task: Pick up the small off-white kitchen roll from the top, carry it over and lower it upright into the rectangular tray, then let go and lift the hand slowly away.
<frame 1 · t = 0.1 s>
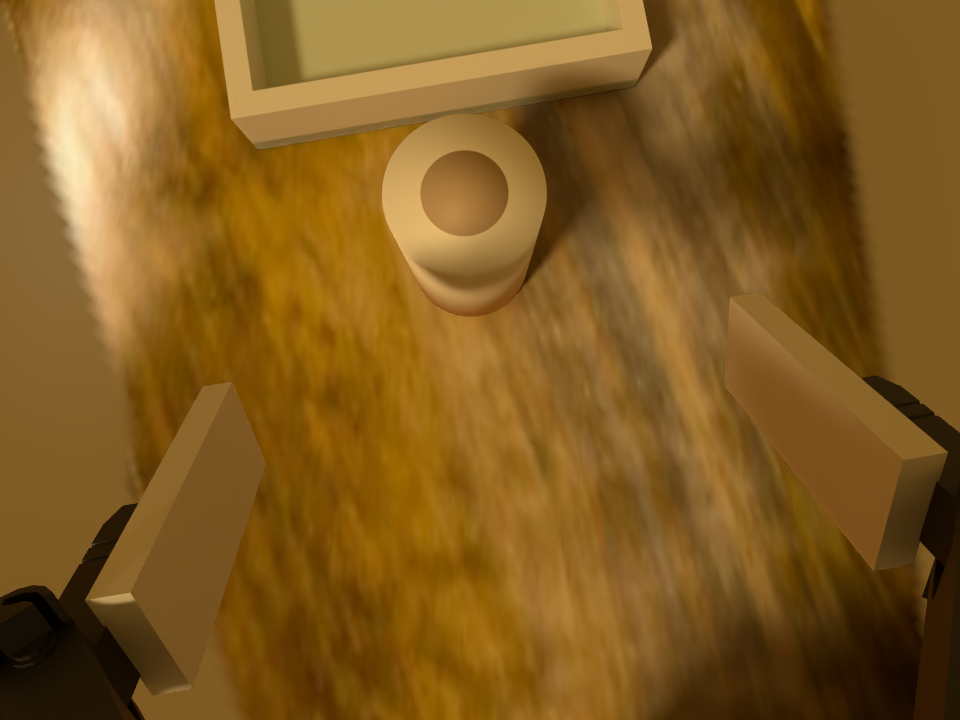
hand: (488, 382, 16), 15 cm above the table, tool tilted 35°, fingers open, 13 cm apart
kitchen roll: (470, 259, 32), on the table
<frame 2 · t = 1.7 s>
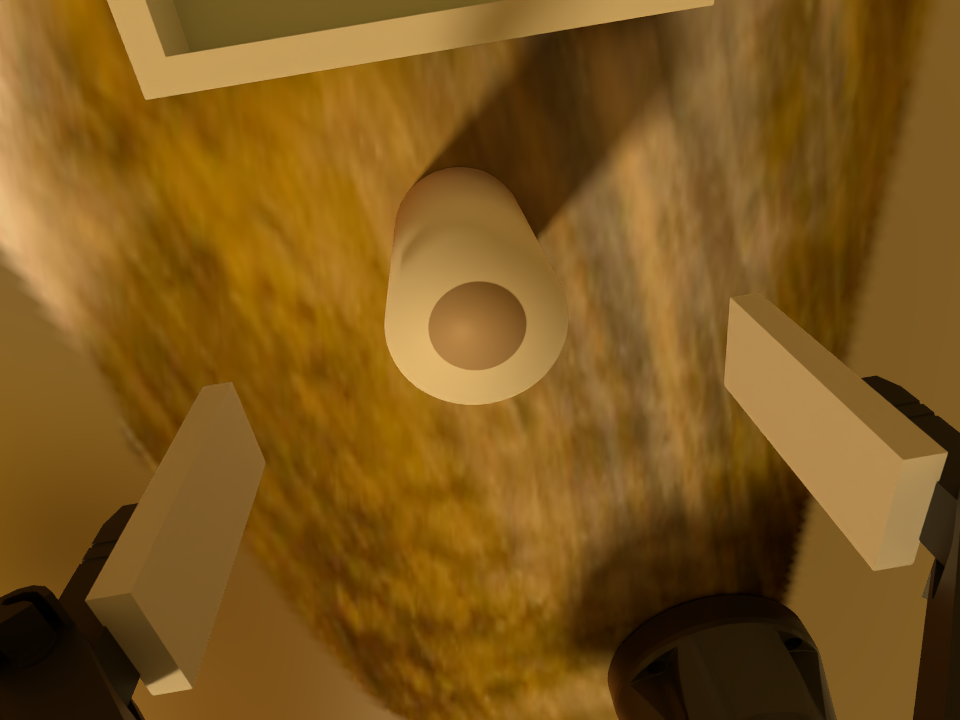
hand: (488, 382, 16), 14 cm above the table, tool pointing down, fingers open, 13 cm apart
kitchen roll: (459, 232, 29), on the table
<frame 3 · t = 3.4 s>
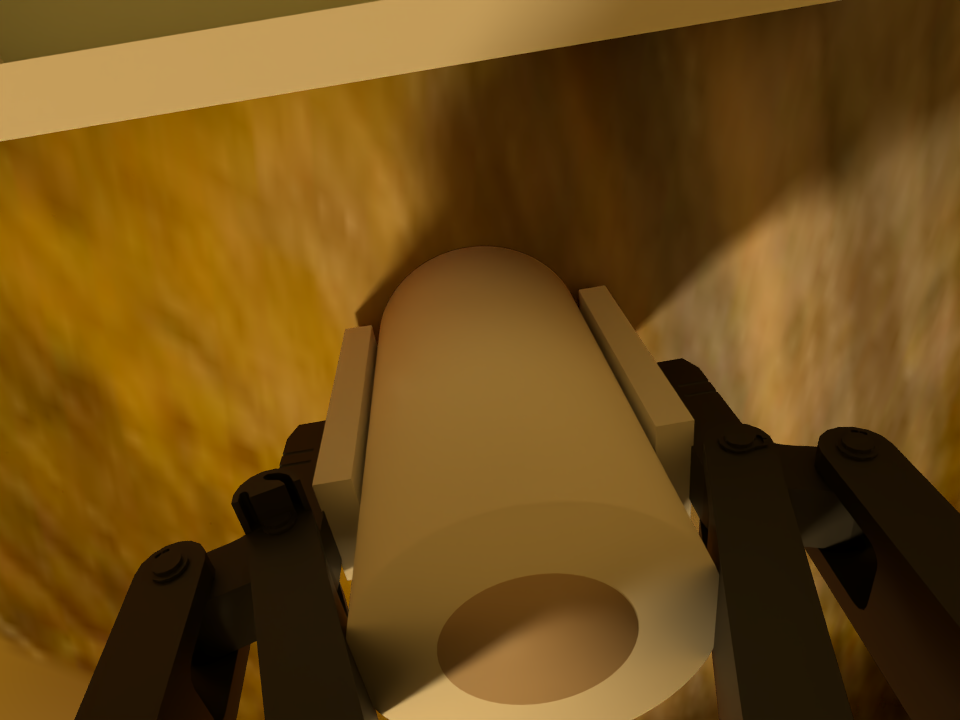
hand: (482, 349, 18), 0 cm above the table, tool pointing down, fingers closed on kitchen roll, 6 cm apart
kitchen roll: (480, 342, 18), on the table, touching gripper
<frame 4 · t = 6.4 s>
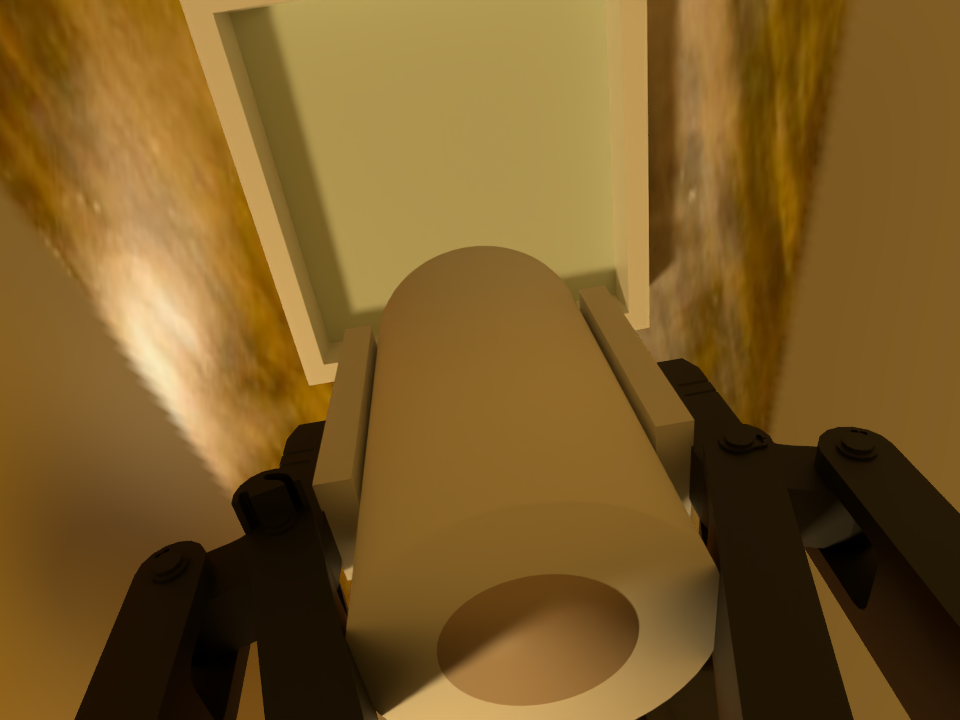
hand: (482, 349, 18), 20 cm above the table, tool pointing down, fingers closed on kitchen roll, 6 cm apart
rectangular tray: (447, 169, 35), on the table
kitchen roll: (480, 342, 18), point 19 cm above the table, touching gripper
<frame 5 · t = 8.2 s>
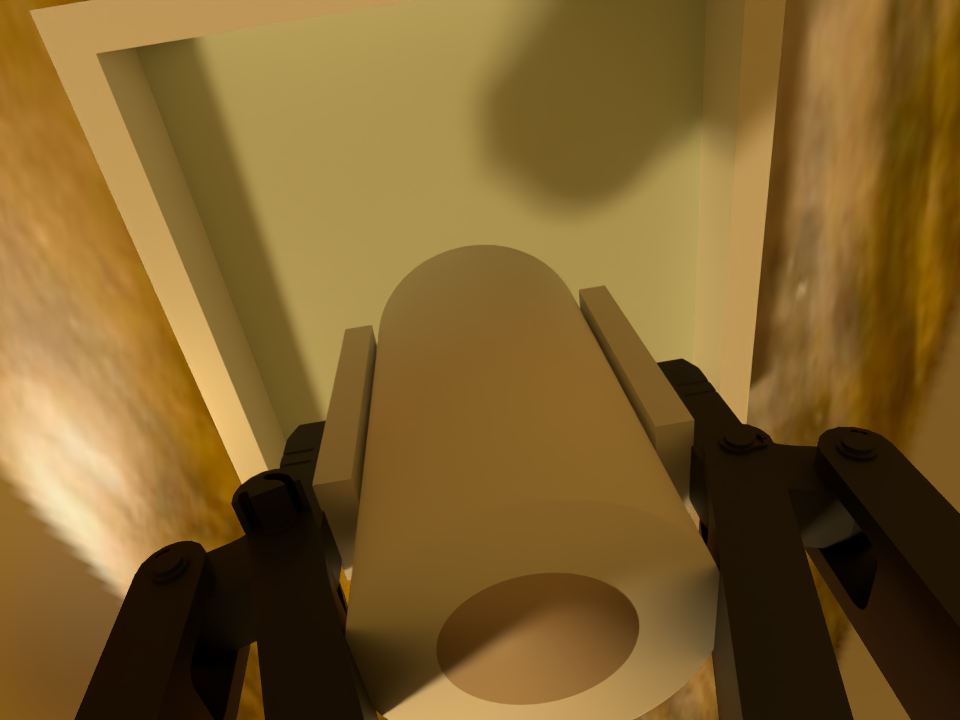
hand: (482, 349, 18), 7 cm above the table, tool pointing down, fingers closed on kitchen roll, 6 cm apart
rectangular tray: (465, 261, 24), on the table
kitchen roll: (480, 341, 18), point 7 cm above the table, touching gripper
when the fingers open (3 cm above the table, at t = 9.4 s): kitchen roll drops 2 cm, resting on rectangular tray.
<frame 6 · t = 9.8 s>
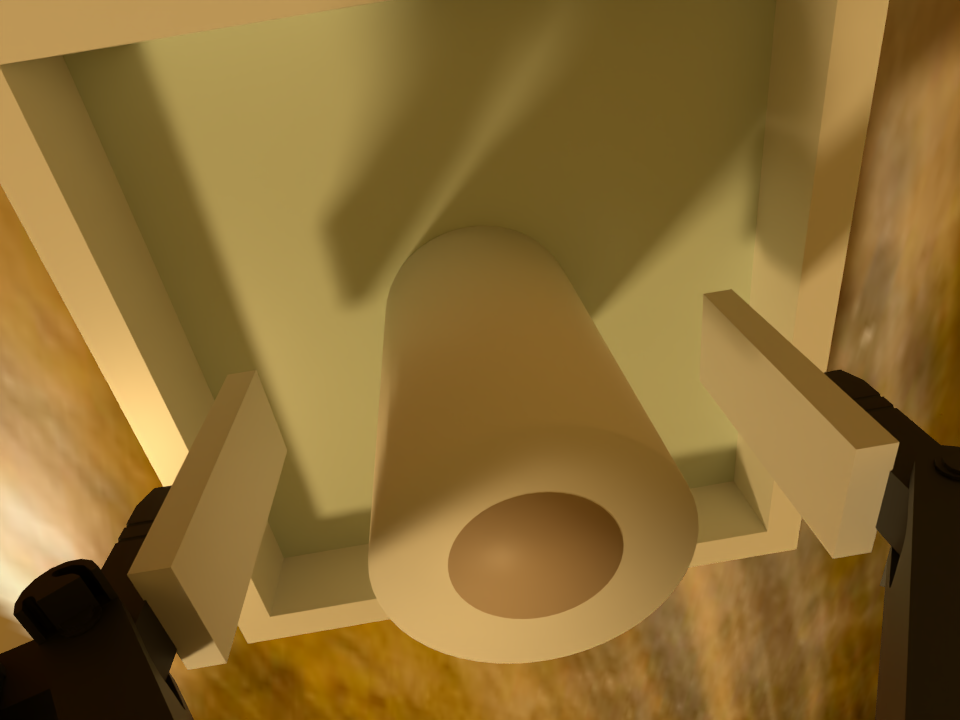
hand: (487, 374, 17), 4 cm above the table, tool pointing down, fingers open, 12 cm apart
rectangular tray: (474, 307, 21), on the table
kitchen roll: (480, 317, 20), point 1 cm above the table, touching rectangular tray
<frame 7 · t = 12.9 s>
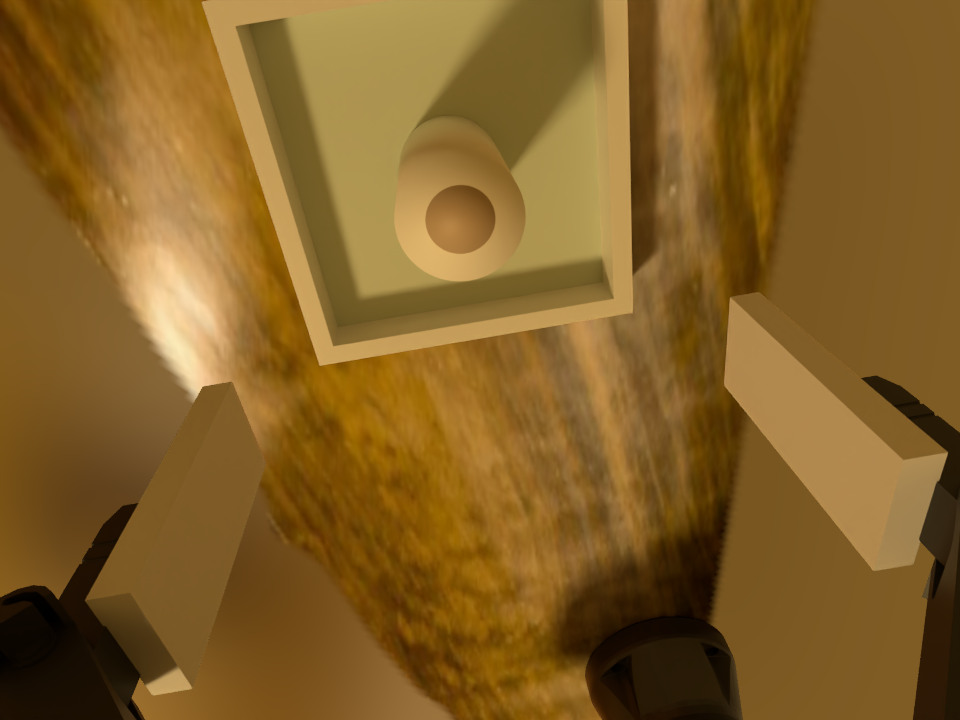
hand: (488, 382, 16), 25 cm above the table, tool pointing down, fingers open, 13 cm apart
rectangular tray: (447, 166, 38), on the table
kitchen roll: (450, 168, 37), point 1 cm above the table, touching rectangular tray
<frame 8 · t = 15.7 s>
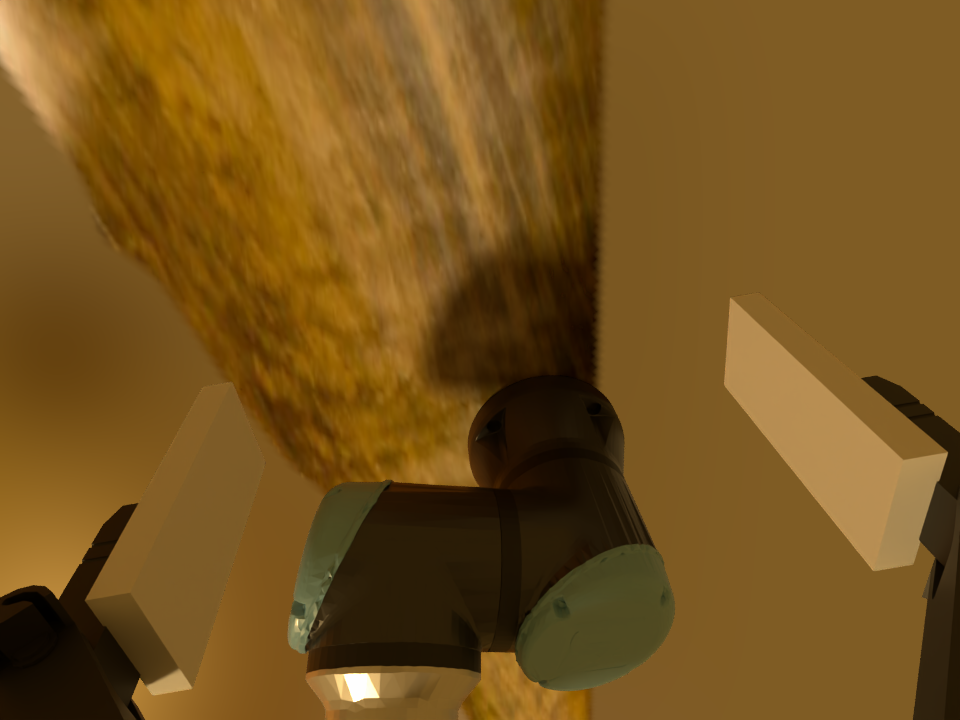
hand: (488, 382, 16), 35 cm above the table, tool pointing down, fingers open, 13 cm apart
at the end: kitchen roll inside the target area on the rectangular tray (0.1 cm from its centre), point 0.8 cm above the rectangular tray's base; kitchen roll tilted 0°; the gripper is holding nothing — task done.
